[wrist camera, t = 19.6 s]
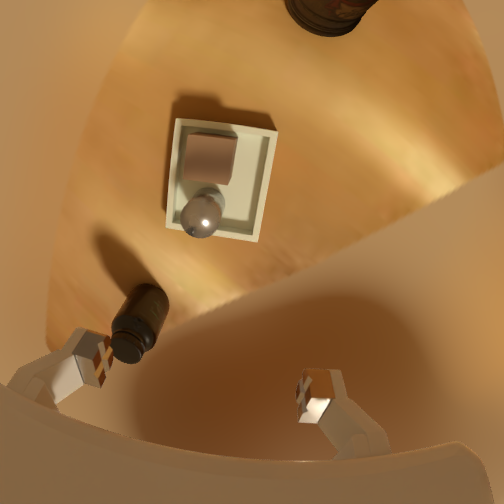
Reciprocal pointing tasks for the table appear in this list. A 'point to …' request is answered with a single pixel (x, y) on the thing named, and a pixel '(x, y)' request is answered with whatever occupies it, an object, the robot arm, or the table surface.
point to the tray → (241, 183)
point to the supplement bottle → (138, 323)
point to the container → (328, 15)
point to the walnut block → (209, 158)
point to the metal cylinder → (203, 213)
